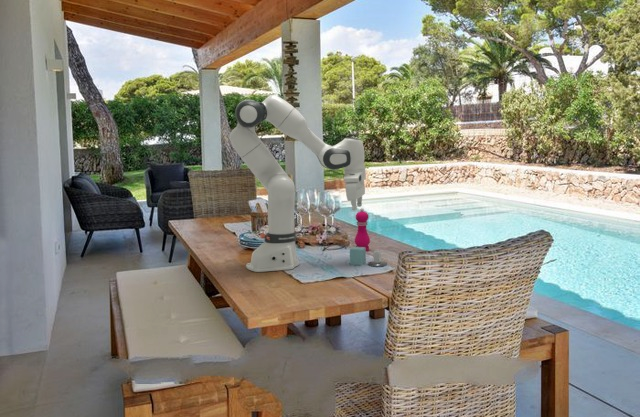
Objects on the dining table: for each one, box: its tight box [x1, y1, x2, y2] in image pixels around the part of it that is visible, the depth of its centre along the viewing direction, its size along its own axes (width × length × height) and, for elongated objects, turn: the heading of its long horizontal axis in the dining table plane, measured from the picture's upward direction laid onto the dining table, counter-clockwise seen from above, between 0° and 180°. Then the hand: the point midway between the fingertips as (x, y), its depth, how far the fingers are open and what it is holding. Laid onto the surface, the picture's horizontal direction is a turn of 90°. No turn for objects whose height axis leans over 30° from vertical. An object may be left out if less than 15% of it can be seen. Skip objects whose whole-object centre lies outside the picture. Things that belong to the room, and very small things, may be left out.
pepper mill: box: [354, 207, 371, 252], centre depth 277 cm, size 7×7×20 cm
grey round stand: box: [367, 250, 388, 268], centre depth 249 cm, size 8×8×6 cm
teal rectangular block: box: [349, 246, 367, 266], centre depth 252 cm, size 5×5×7 cm
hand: (357, 208), depth 251 cm, fingers open, 8 cm apart
